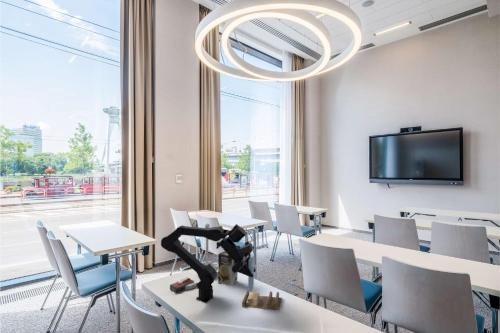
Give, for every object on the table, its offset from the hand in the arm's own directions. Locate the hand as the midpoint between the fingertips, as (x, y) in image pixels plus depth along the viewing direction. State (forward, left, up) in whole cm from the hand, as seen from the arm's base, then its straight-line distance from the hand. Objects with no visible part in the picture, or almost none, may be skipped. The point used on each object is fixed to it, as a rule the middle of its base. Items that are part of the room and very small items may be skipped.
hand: (254, 274), depth 128 cm
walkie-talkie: (-39, -4, -14) cm, 42 cm away
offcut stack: (0, 0, -13) cm, 13 cm away
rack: (+4, +2, -13) cm, 14 cm away
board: (-1, -1, -7) cm, 7 cm away
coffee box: (-24, +11, -14) cm, 29 cm away
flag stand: (-42, +14, -14) cm, 46 cm away
